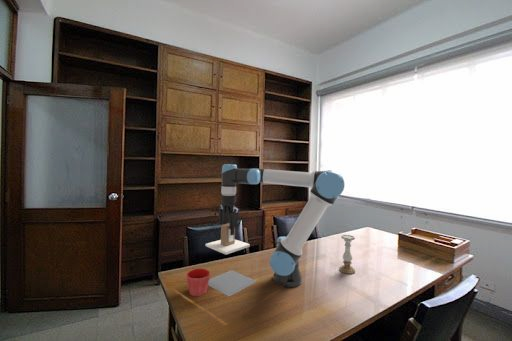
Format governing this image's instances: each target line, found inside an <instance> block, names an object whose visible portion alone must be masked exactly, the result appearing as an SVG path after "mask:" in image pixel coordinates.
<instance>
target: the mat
mask: <svg viewBox="0 0 512 341" xmlns="http://www.w3.org/2000/svg"><path fill="white" fill-rule="evenodd" d="M257 282H258V280H255V279H253V278H251V277H248V276H246V275H244V274H243V273H239V272H237V271H235V270H231V269H229V270H227V271H226V272H223V273H221V274H219V275H216V276H214V277H211V278H209V282H208V287H211V288H212V289H214V290H216V291H217V292H219V293H221V294H223V295H225V296H226V297H231V296H233V295H235V294H237V293H239V292H241V291H242V290H244V289H246V288H248V287H250V286H252V285H254V284H255V283H257Z"/></svg>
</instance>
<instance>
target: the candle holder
mask: <svg viewBox="0 0 512 341" xmlns="http://www.w3.org/2000/svg"><path fill="white" fill-rule="evenodd" d="M340 237H341V239H342V240H343V241H344V248H345V249H344V252H343V254H342V263H343V264H342V265H341V266H340V267H338V268H339V272H341V273H343V274H347V275H353V274H355V272H356V269H355V268H354V267H353V266H352V260H353V254H352V253H351V252H352V251H351V248H352V245H351V243H352V241H355V240H356V237H355V236H354V235H350V234H342V235H341V236H340Z"/></svg>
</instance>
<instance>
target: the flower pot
mask: <svg viewBox="0 0 512 341" xmlns="http://www.w3.org/2000/svg"><path fill="white" fill-rule="evenodd" d="M210 277H211V271H210V270H209V269H206V268H195V269H191V270H189V271H187V273H186V282H187V288H188V291H189V292H188V293H189V295H190V296H193V297H200V296H203V295H205V294H206V293H207V292H208V287H209V286H208V282H209V279H210Z"/></svg>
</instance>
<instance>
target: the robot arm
mask: <svg viewBox="0 0 512 341" xmlns="http://www.w3.org/2000/svg"><path fill="white" fill-rule="evenodd" d="M259 183H262V184H270V185H271V184H272V185H283V186H292V187H304V188H310V191H309V192H310V193H309V194H310V197H309V199H308V201H307V203H306V204H305V206H304V207H303V209H302V211H301V212H300V213H299V215H298V217H297V219H296V221H295V222H294V224H293V226H292V227H291V229H290V231H289V233H288V234H287V236H279V237H278V238H277V239H276V240H277V241H276V243H277V244H276V248H275V249H274V251H273V253H272V254H271V256H270V259H269V265H270V268H271V270H272V271H273V281H274V282H275V283H277V284H278V285H281V286H283V288H284V287H285V288H295V287H299V286H300V285H301V284H302V283H303V276H302V273H301V270H300V258H301V257H302V255H303V247H304V246H305V243H306V242H307V240H308V239H309V238H310V235H311V234H312V232H313V231H314V229H315V228H316V226H317V224H318V223H319V221H320V220H321V218H322V217H323V215H324V213H325V212H326V210H327V208H328V207H331V206H333V205H334V203H335V202H336V201H337V199H338V197H339V196H340V195H341V194H342V193H343V191H344V189H345V180H344V178H343V176H342V175H341V174H340V173H339V172H337V171H335V170H331V169H330V170H313V171H312V172H307V171H294V170H292V171H291V170H281V169H268V168H266V169H265V168H257V167H255V168H238V166H237V164H228V163H227V164H223V165H222V167H221V187H220V188H221V193H220V194H221V196H220V197H221V198H220V201H221V203H222V204H220V205H217V206H218V217H219V218H218V223H219V224H218V225H220V226H221V225H223V224H228V223H229V225H230V228H229V237H228V242H231V241H233V235H234V228H235V229H237V228H238V225H239V224H238V223H239V212H240V208H238V207H236V205H235V204H236V202H237V195H236V194H237V184H244V185H258V184H259Z"/></svg>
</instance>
